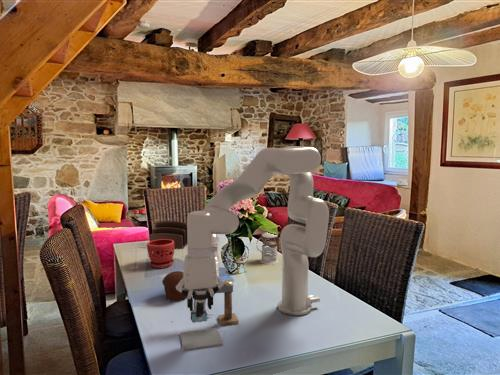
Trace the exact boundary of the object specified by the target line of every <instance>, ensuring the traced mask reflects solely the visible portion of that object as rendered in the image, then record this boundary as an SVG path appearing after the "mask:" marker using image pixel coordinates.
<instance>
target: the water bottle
mask: <svg viewBox="0 0 500 375" xmlns="http://www.w3.org/2000/svg"><path fill="white" fill-rule="evenodd" d="M219 241H220V239H219V237H218V234H213V235H212V246H213V247H217V251H215V252H213V254H214V256H215V261H216V270H217V276H218V277H219V278H220V256H219V254H220V251H219V248H220V247H219ZM217 284H218V282H217Z"/></svg>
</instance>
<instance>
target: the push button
mask: <svg viewBox="0 0 500 375" xmlns="http://www.w3.org/2000/svg"><path fill="white" fill-rule="evenodd" d="M208 295H209V292H208V291H206V289H195V290H194V291H193V293H192V299H193V311H190V321H191V322H192V323H202V322H207V321H208V319H212V317H211V316H212V314H211V313H209V314H208V312H207V309H206V303H207V302H206V301H207V298H208Z"/></svg>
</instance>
